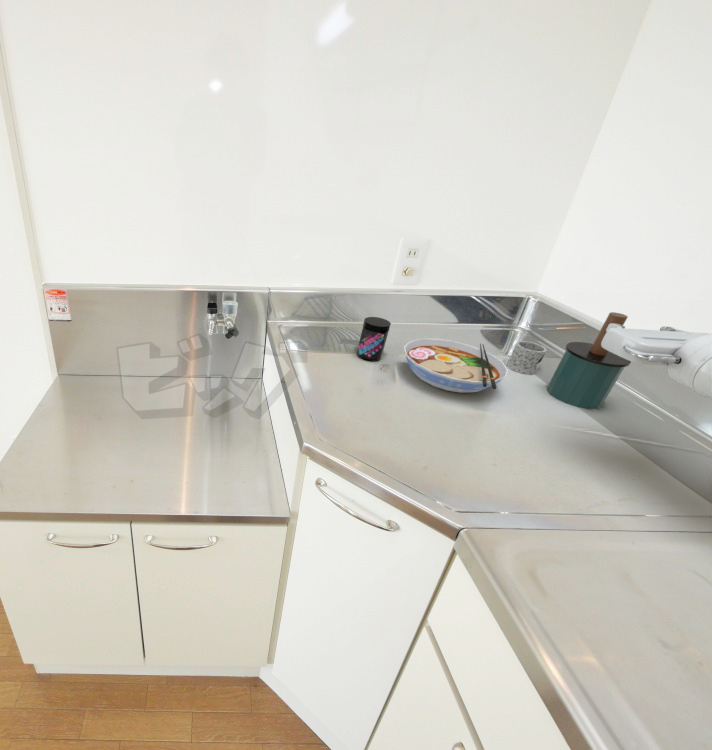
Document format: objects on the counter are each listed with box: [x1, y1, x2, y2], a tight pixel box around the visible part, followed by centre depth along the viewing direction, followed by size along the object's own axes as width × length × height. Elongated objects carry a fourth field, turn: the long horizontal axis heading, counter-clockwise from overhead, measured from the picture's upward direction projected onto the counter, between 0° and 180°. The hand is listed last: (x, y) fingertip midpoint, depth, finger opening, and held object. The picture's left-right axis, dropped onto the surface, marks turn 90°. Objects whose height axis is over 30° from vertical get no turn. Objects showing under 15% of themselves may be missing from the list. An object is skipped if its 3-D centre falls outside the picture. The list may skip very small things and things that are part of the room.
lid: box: [564, 311, 632, 368], centre depth 92 cm, size 11×11×10 cm
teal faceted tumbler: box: [546, 349, 625, 410], centre depth 97 cm, size 10×10×12 cm
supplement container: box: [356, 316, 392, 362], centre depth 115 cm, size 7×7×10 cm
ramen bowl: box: [403, 337, 509, 394], centre depth 103 cm, size 25×23×8 cm
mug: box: [506, 340, 547, 375], centre depth 114 cm, size 10×7×7 cm, turn 162°
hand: (637, 328), depth 79 cm, fingers open, 8 cm apart
